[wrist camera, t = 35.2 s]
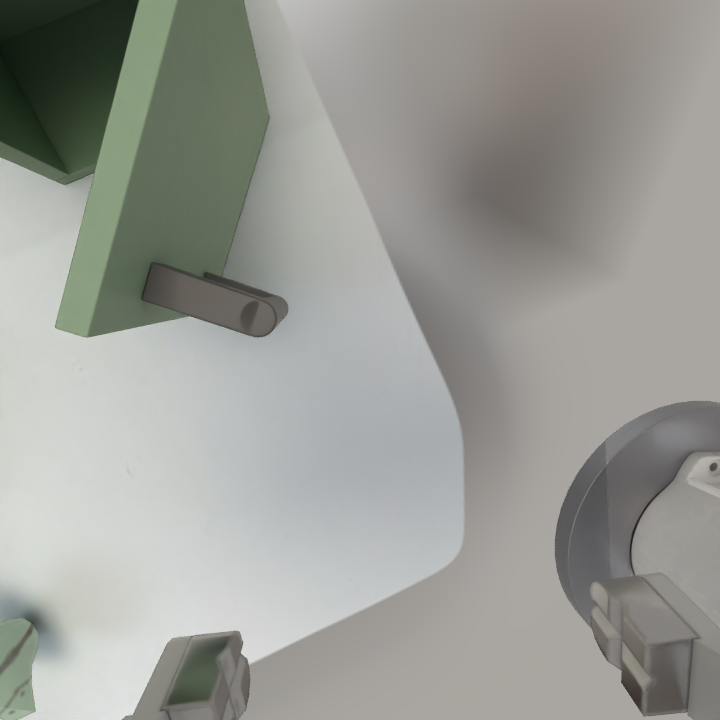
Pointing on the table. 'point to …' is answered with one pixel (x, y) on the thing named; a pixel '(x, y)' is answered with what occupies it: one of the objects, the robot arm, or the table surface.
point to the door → (173, 178)
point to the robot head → (17, 668)
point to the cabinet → (59, 81)
